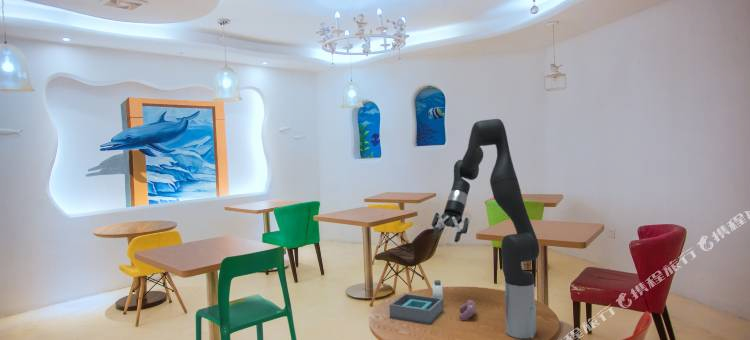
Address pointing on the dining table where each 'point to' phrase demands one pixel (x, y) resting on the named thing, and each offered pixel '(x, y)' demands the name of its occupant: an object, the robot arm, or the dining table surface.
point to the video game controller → (467, 310)
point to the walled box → (416, 308)
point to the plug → (437, 289)
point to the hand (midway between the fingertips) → (445, 239)
